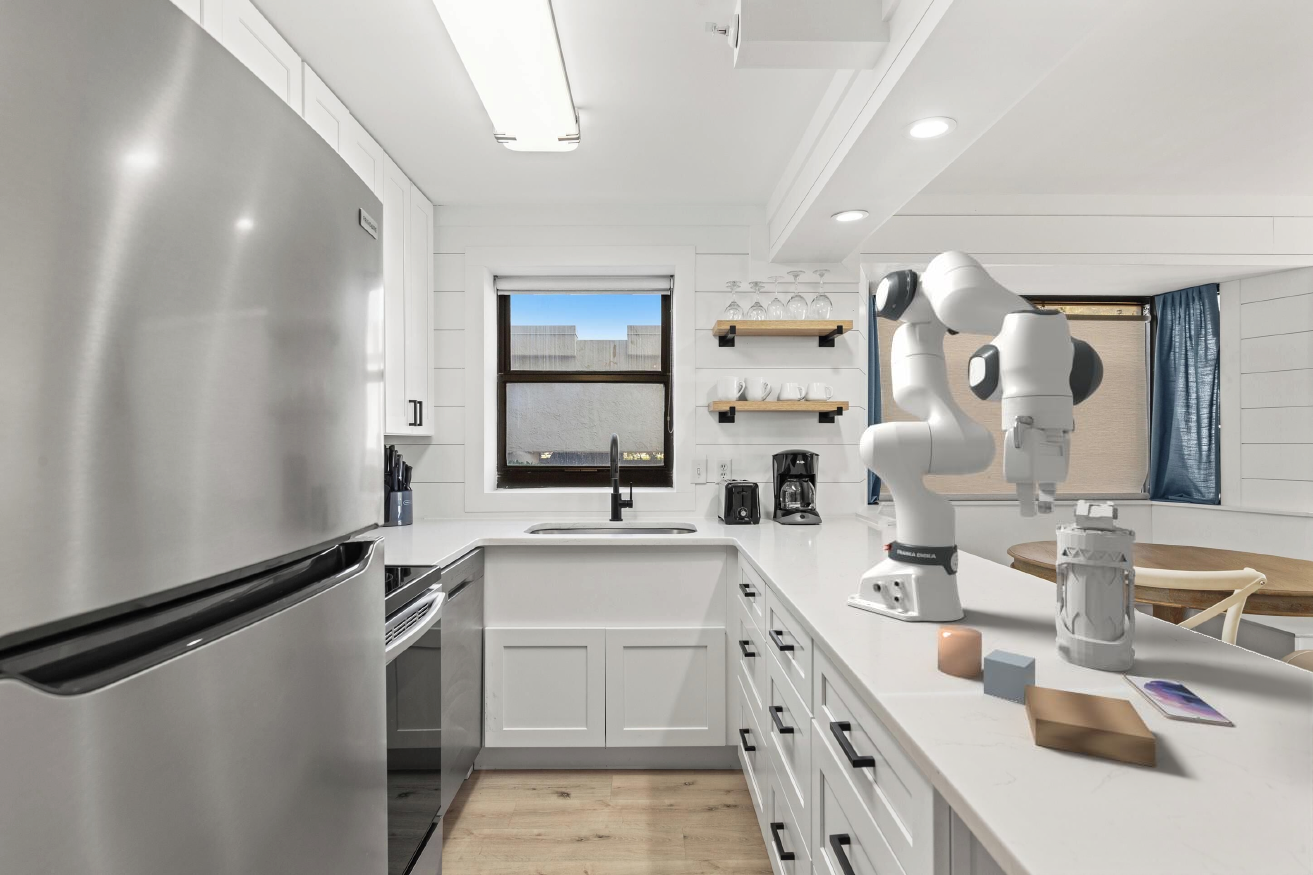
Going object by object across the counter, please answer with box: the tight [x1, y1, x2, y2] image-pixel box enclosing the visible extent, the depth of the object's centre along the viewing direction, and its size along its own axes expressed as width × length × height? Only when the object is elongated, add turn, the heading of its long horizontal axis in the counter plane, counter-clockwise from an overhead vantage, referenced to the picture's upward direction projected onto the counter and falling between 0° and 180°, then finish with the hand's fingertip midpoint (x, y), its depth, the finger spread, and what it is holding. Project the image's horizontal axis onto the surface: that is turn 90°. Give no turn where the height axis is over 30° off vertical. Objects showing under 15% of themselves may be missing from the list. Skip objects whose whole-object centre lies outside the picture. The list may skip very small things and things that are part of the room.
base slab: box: [1024, 685, 1156, 768], centre depth 74 cm, size 11×11×3 cm
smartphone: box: [1122, 674, 1234, 728], centre depth 84 cm, size 7×1×15 cm
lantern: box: [1055, 499, 1136, 672], centre depth 100 cm, size 13×10×25 cm
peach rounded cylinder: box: [937, 625, 983, 679], centre depth 94 cm, size 6×6×6 cm
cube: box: [983, 649, 1036, 705], centre depth 86 cm, size 5×5×5 cm
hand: (1037, 515), depth 89 cm, fingers open, 8 cm apart
